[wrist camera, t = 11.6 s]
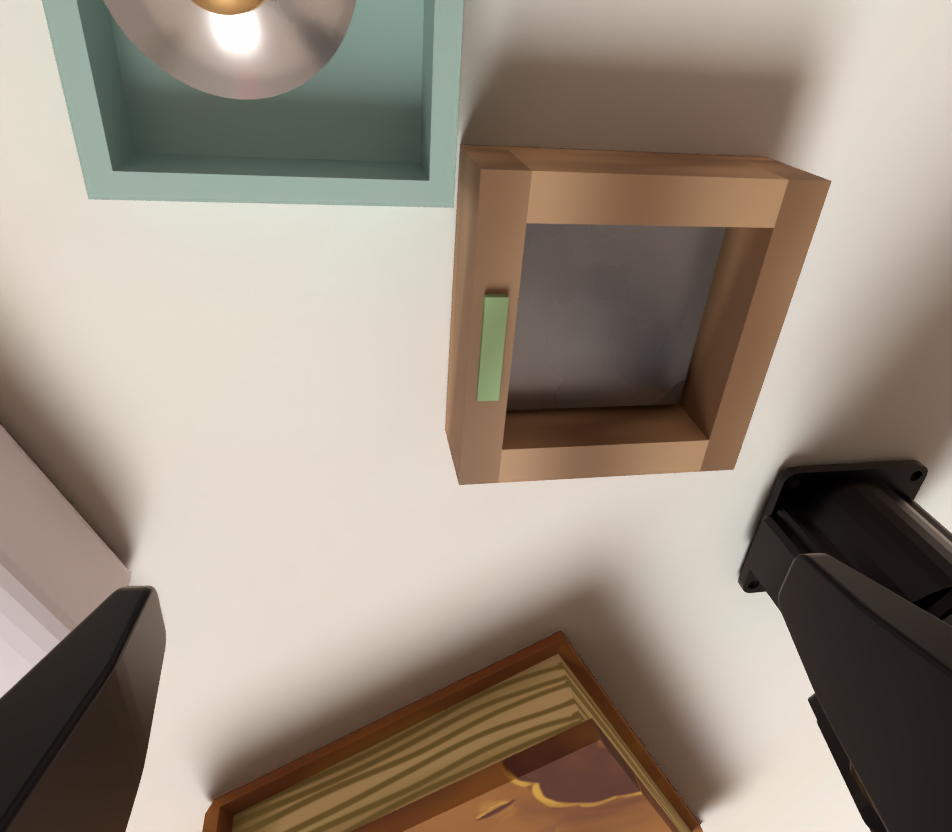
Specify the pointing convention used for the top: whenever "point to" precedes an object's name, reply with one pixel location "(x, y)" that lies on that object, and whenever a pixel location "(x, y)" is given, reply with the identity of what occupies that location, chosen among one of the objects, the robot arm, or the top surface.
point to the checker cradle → (620, 203)
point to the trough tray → (271, 116)
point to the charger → (44, 565)
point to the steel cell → (236, 41)
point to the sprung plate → (608, 313)
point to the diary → (475, 764)
